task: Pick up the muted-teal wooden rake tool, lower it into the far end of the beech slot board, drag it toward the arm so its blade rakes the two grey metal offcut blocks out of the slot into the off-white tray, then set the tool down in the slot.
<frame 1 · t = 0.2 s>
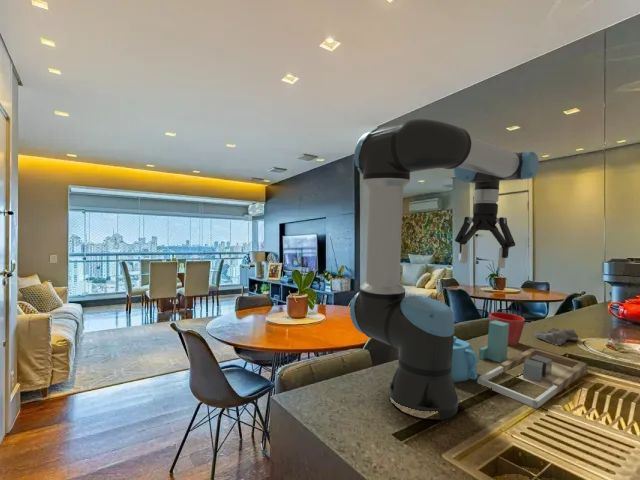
hand: (481, 265, 116), 27 cm above the counter, fingers open, 13 cm apart
chip block 1: (540, 372, 93), point 1 cm above the counter, touching slot board
stone: (556, 341, 124), on the counter
teapot: (446, 373, 93), on the counter, touching tray
flower pot: (504, 343, 118), on the counter
tray: (516, 391, 84), on the counter
rake tool: (496, 362, 102), on the counter
chip block 2: (532, 377, 90), point 1 cm above the counter, touching slot board
slot board: (543, 374, 95), on the counter
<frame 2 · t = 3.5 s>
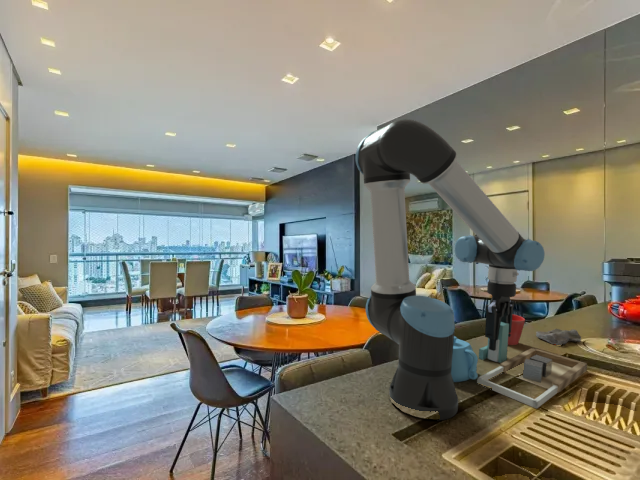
hand: (496, 358, 102), 1 cm above the counter, fingers closed on rake tool, 4 cm apart
rake tool: (496, 362, 102), on the counter, touching gripper
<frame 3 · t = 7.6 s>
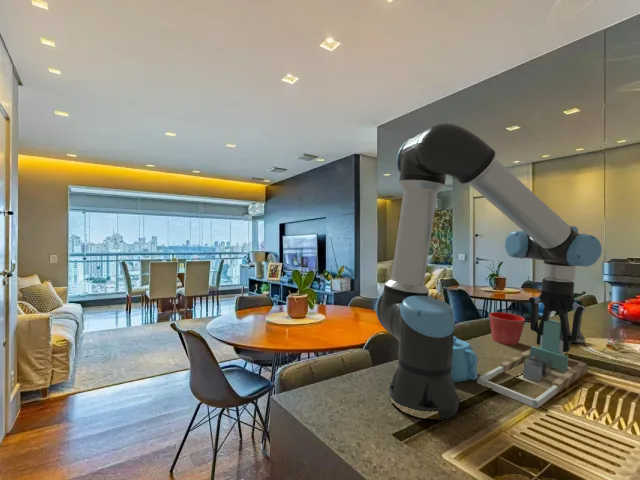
hand: (551, 359, 98), 3 cm above the counter, fingers closed on rake tool, 4 cm apart
rake tool: (551, 362, 98), point 2 cm above the counter, touching gripper
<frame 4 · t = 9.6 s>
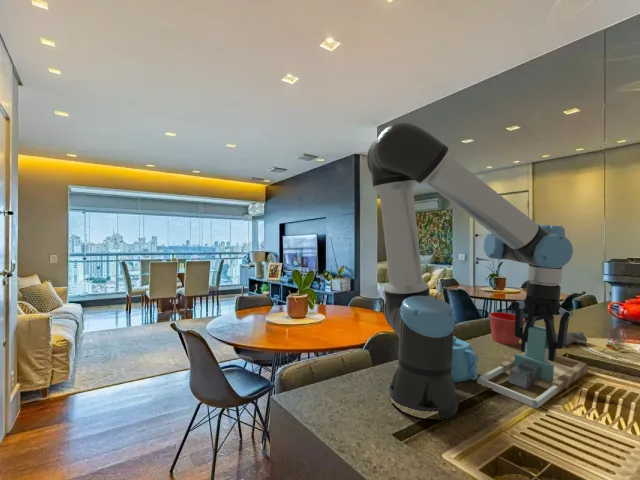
hand: (536, 367, 92), 3 cm above the counter, fingers closed on rake tool, 4 cm apart
chip block 1: (529, 379, 89), point 1 cm above the counter, touching chip block 2, rake tool
rake tool: (536, 371, 92), point 2 cm above the counter, touching chip block 1, gripper
chip block 2: (520, 385, 87), resting on tray, touching chip block 1
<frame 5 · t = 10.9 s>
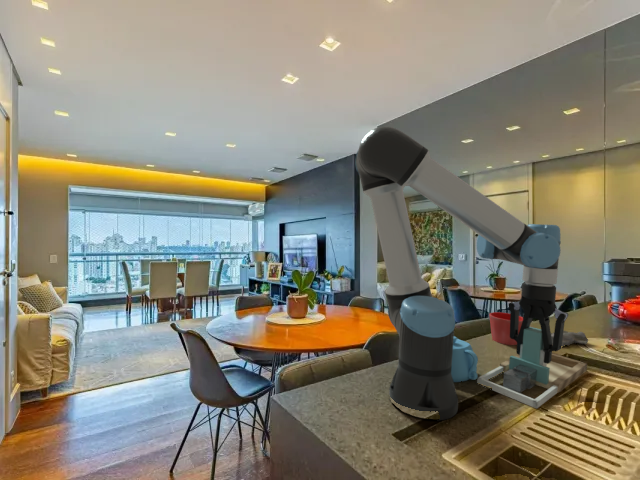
hand: (532, 370, 90), 3 cm above the counter, fingers closed on rake tool, 4 cm apart
chip block 1: (523, 384, 87), point 1 cm above the counter, touching chip block 2, rake tool
rake tool: (531, 374, 90), point 2 cm above the counter, touching chip block 1, gripper
chip block 2: (514, 389, 85), resting on tray, touching chip block 1
when the fingers open (3 cm above the counter, at t = 12.2 s): rake tool stays where it is, resting on slot board.
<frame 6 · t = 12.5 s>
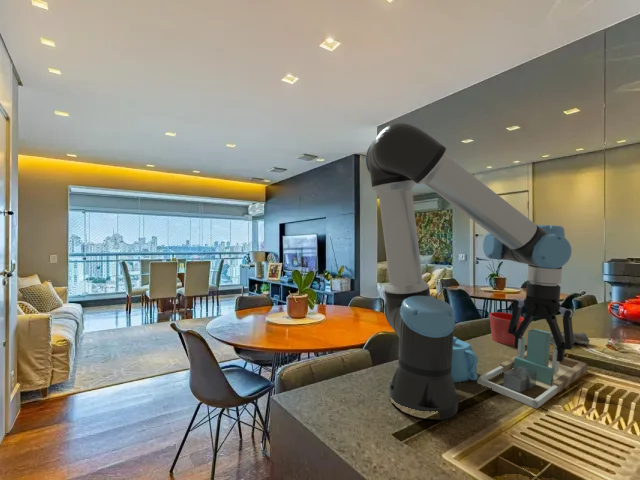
hand: (537, 366, 92), 3 cm above the counter, fingers open, 8 cm apart
chip block 1: (523, 385, 87), resting on tray
teapot: (446, 374, 93), on the counter
rake tool: (536, 375, 92), point 1 cm above the counter, touching slot board
chip block 2: (514, 389, 85), resting on tray
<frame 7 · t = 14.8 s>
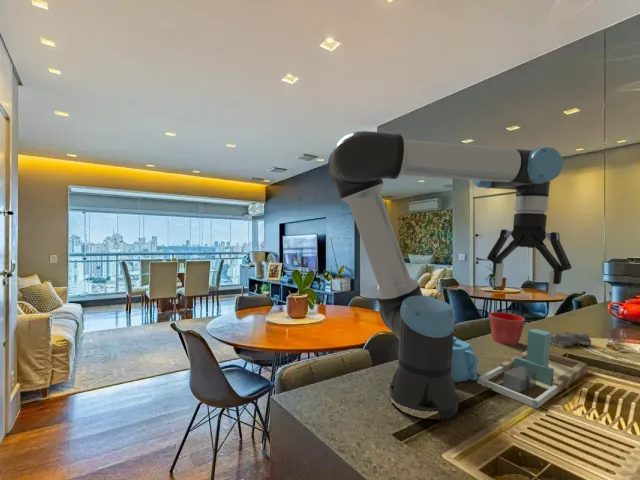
hand: (523, 290, 93), 24 cm above the counter, fingers open, 13 cm apart
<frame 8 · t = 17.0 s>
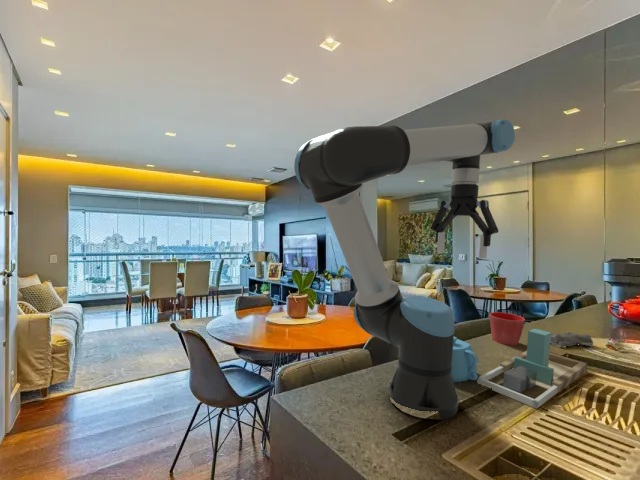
hand: (460, 255, 102), 32 cm above the counter, fingers open, 13 cm apart
at the end: chip block 1 inside the target area on the tray (3.8 cm from its centre), point 0.4 cm above the tray's base; chip block 2 inside the target area on the tray (0.5 cm from its centre), point 0.4 cm above the tray's base; the gripper is holding nothing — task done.
